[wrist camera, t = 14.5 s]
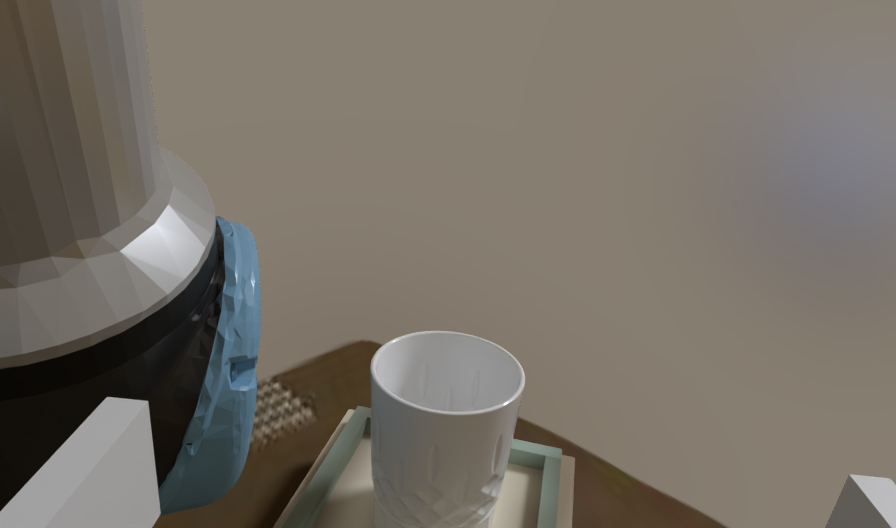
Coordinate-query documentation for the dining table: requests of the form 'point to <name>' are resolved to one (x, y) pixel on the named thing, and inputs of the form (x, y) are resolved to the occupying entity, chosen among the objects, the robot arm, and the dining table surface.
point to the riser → (352, 491)
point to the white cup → (441, 429)
